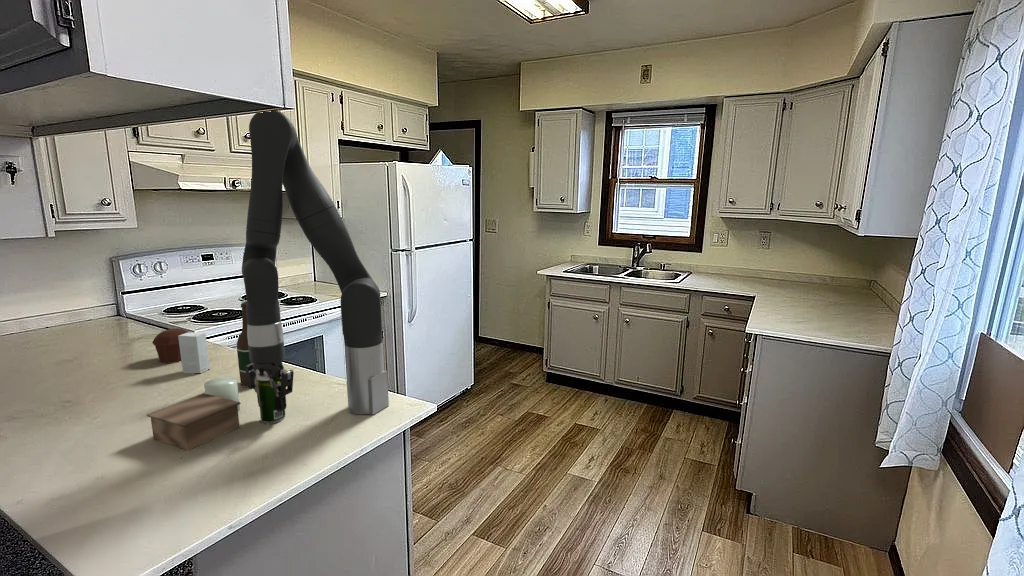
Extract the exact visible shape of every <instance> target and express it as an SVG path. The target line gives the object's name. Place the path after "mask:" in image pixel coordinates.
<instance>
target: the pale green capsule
mask: <svg viewBox="0 0 1024 576" xmlns="http://www.w3.org/2000/svg"><path fill="white" fill-rule="evenodd" d="M203 388H204V393H205V394H209V395H213V396H217V397H221V398H225V399H229V400H233V401H237V402H240V398H239V386H238V379H237V378H236V377H234V376H222V377H216V378H213V379H212V378H211V379H210V380H208V381H206V382H204V384H203ZM240 405H241V404H239V405H237V407H238V413H239V412H240V410H241V406H240Z"/></svg>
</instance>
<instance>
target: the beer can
mask: <svg viewBox="0 0 1024 576" xmlns="http://www.w3.org/2000/svg"><path fill="white" fill-rule="evenodd" d="M271 376H272V375H271ZM273 382H274V383H275V384H277V383H280V382H281V379H277V380H273ZM257 386H258V396H259V405H258V407H259V406H260V407H259V414H260V420H261V422H262V423H263V424H266V425H272V424H278V423H280V422H282V421H284V419H285V417H286V409H285V410H283V411H280V412H278V411H276V402H275V397H276V396H275V394H274V391H273V389H271V388H270V380H269V378H267V376H264V374H260V375H258V377H257ZM280 389H281V386H278V390H279V391H280Z"/></svg>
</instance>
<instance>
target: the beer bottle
mask: <svg viewBox="0 0 1024 576" xmlns="http://www.w3.org/2000/svg"><path fill="white" fill-rule="evenodd" d="M246 303H247V301H243V302H241V304H240V308H241V315H242V317H241V319H242V321H241V322H242V327H241V328H242V329H241V332H240V334H239V335H238V337H237V341H236V351H237V353H236V354H237V363H238V370H239V371H238V373H239V380H240V385H241V386H242V387H245V388H249V384H248V380H247V375H246V371H245V366H246V365H248V364H251V362H250V357H249V348H248V337H247V327H248V326H247V315H246ZM254 382H255V378H253V383H254Z"/></svg>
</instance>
